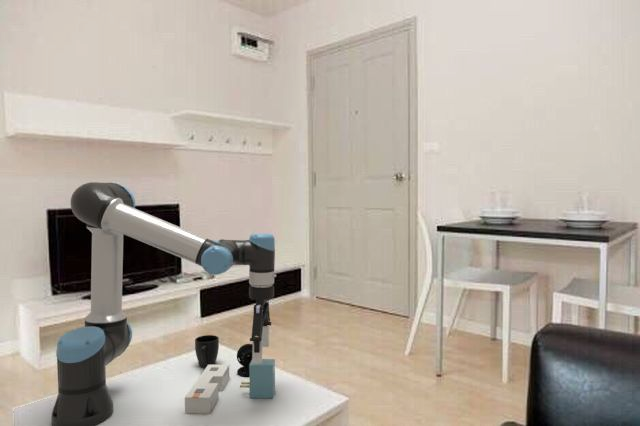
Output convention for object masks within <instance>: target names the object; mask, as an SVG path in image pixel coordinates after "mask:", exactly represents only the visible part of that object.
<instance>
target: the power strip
mask: <svg viewBox="0 0 640 426" xmlns="http://www.w3.org/2000/svg"><path fill="white" fill-rule="evenodd" d="M229 380H230V364H215V365H208V366H207V367H206V368H204V370H203V372H202V373H200V376H199V377H198V378H197V380H196V381H195V382H194V384H193V385H192V387H191V388H190V389H189V391H188V392H187V393H186V395H185V396H184V413H185V414H210V413H211V412H212V410H213V408H214V407H215V405H216V403H217V401H218V400H219V391H224V389H225V387H226V385H227V384H228V381H229ZM217 399H218V400H217Z"/></svg>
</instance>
